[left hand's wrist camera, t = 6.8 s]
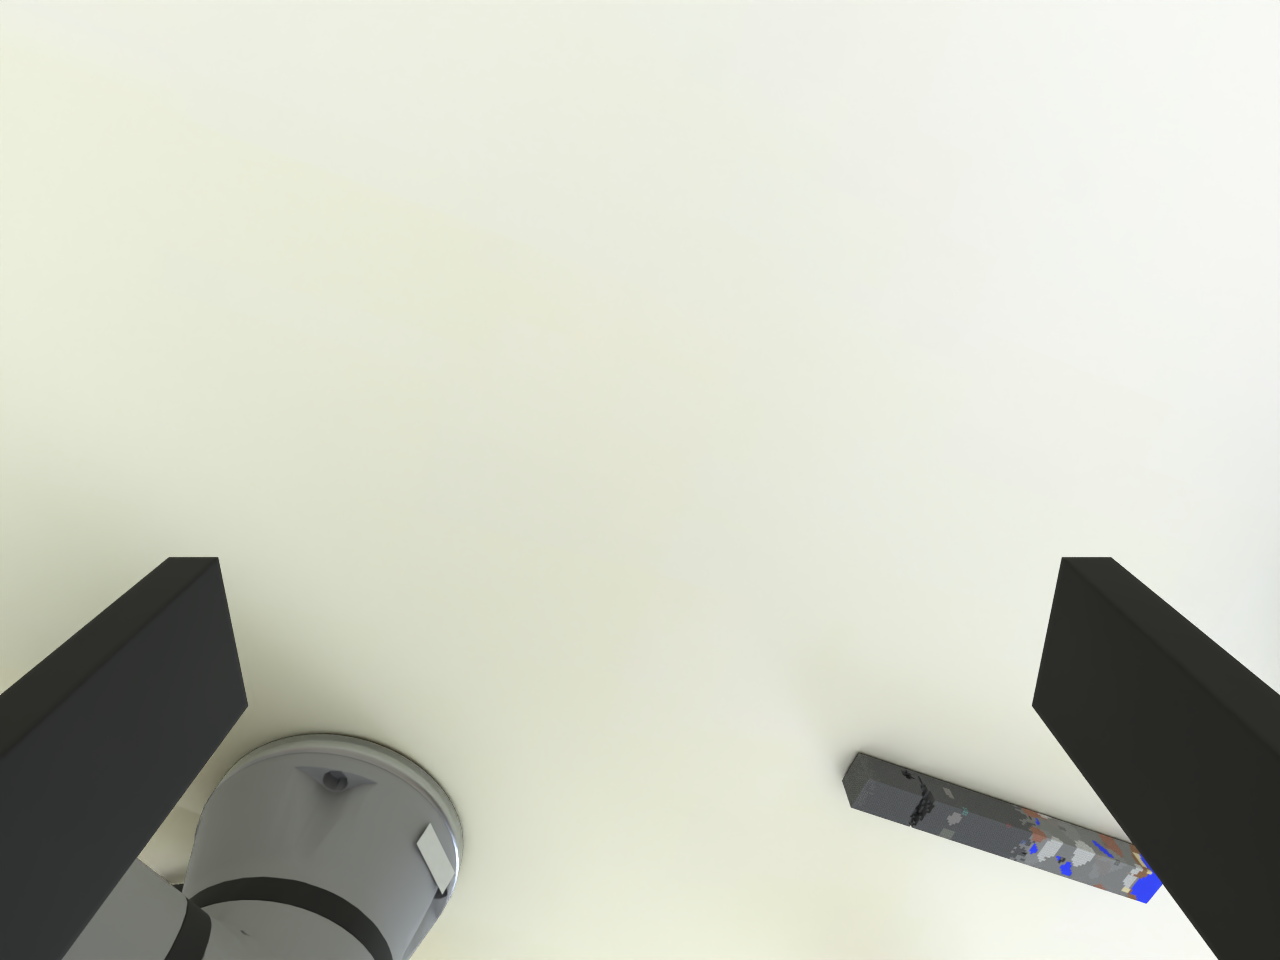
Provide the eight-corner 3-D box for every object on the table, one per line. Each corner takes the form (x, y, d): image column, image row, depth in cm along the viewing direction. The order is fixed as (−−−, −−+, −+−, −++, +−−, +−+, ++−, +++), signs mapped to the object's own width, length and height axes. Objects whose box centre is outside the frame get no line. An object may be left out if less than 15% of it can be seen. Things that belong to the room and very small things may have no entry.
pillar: (868, 778, 46) (1172, 879, 48) (858, 752, 48) (1151, 850, 50) (850, 807, 46) (1151, 905, 49) (842, 780, 48) (1130, 875, 51)
